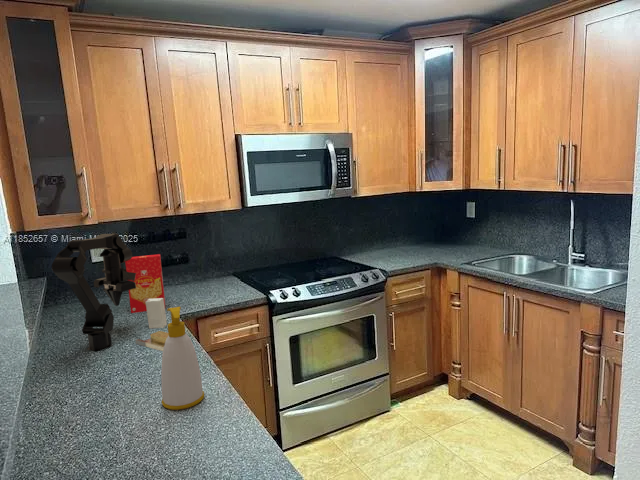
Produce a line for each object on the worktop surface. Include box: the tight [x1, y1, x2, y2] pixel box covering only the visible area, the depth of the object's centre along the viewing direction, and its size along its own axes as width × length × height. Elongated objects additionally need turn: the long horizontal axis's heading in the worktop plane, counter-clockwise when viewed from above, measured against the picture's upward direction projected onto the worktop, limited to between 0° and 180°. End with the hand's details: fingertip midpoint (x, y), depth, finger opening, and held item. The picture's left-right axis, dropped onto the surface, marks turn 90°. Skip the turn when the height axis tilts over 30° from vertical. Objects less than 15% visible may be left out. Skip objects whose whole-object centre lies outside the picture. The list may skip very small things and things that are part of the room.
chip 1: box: [149, 330, 168, 344], centre depth 159 cm, size 4×4×4 cm
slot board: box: [135, 332, 164, 352], centre depth 160 cm, size 16×8×2 cm, turn 58°
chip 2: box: [158, 332, 168, 346], centre depth 157 cm, size 4×4×4 cm
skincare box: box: [146, 298, 168, 329], centre depth 178 cm, size 6×4×12 cm
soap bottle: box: [160, 306, 205, 411], centre depth 118 cm, size 11×12×26 cm
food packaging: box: [124, 253, 166, 314], centre depth 203 cm, size 15×5×25 cm, turn 109°
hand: (117, 305), depth 170 cm, fingers closed
